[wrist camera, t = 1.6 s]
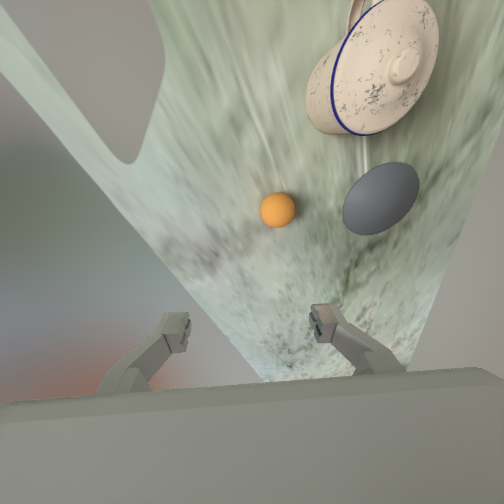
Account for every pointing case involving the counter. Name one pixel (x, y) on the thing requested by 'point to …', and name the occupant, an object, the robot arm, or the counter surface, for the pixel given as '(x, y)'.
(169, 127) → the counter surface
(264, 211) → the ball
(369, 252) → the counter surface
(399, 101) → the teacup with lid
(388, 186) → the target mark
